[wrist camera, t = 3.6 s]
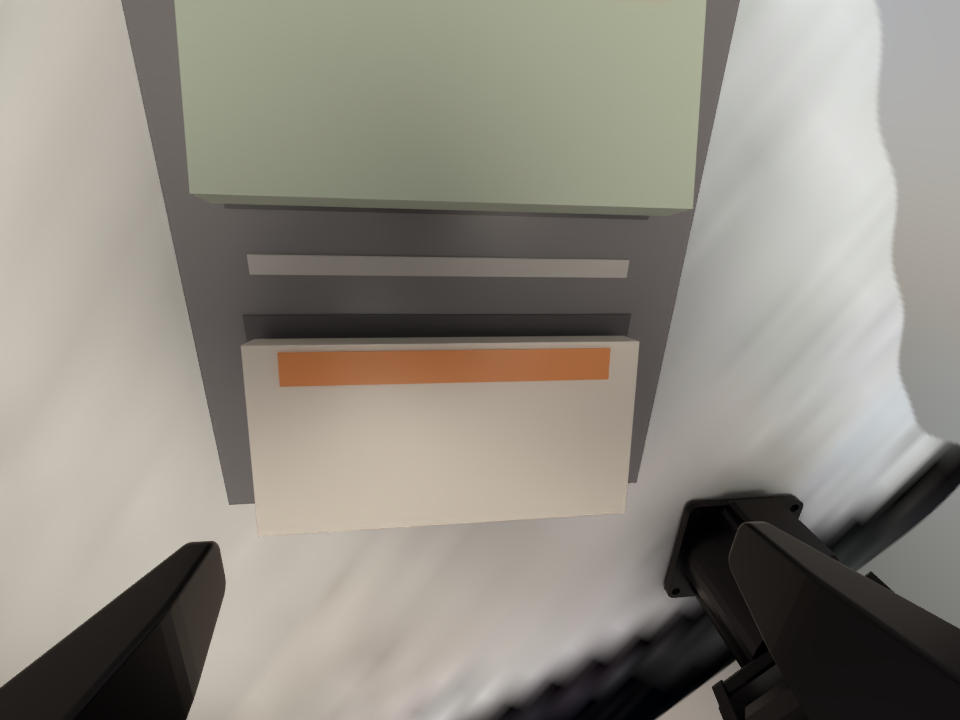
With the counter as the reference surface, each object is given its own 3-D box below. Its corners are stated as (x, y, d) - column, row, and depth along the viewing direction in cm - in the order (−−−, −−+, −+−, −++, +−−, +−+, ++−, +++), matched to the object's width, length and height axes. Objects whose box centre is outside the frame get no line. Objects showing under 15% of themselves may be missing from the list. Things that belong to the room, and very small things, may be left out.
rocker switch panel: (609, 442, 23) (637, 484, 20) (253, 457, 20) (228, 506, 18) (707, -111, 15) (778, -171, 12) (138, -185, 12) (58, -283, 10)
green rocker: (655, 219, 14) (695, 208, 12) (223, 208, 12) (187, 193, 10) (667, -4, 13) (712, -55, 11) (205, -48, 12) (162, -118, 10)
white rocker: (603, 487, 18) (626, 514, 16) (275, 505, 17) (257, 538, 15) (614, 332, 17) (640, 342, 15) (261, 335, 15) (239, 346, 13)
